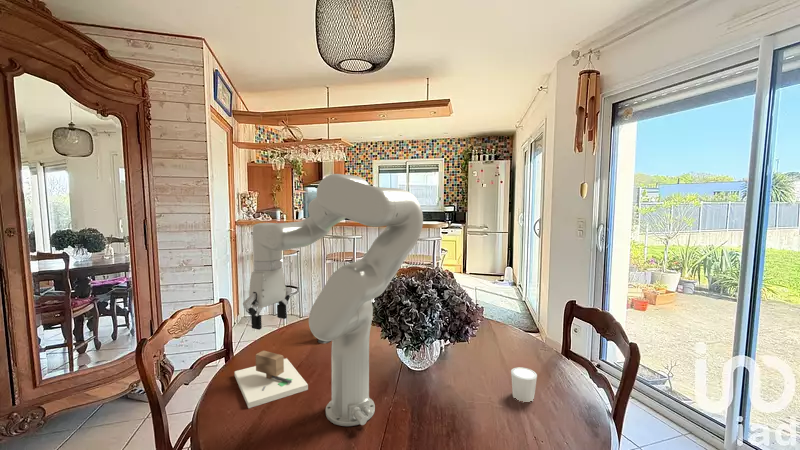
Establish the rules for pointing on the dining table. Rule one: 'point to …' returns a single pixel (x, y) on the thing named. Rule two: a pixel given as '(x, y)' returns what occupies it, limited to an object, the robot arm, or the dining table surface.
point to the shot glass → (523, 384)
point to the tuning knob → (270, 365)
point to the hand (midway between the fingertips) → (269, 323)
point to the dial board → (268, 385)
